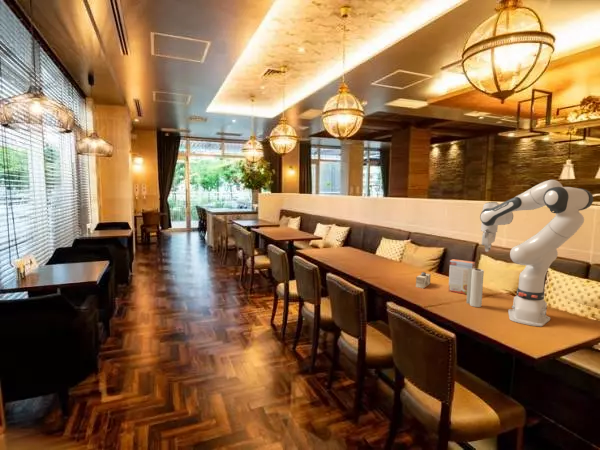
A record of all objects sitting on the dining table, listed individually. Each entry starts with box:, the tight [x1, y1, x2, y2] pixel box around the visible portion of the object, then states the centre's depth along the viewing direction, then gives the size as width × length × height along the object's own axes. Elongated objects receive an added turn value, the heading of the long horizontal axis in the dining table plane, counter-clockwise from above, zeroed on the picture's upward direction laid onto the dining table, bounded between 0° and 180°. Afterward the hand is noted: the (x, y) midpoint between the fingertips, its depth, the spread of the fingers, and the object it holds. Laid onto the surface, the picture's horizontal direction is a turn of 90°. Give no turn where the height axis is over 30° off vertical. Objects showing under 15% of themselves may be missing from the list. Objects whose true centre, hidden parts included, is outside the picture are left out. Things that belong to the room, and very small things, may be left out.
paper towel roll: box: [465, 268, 485, 308], centre depth 199 cm, size 7×6×21 cm
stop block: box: [415, 271, 432, 289], centre depth 239 cm, size 14×5×9 cm, turn 141°
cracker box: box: [447, 258, 476, 295], centre depth 223 cm, size 14×6×21 cm, turn 47°
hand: (487, 250), depth 212 cm, fingers open, 4 cm apart
